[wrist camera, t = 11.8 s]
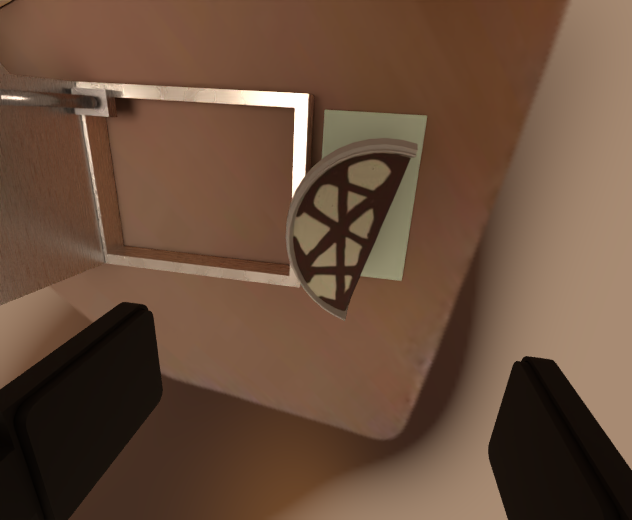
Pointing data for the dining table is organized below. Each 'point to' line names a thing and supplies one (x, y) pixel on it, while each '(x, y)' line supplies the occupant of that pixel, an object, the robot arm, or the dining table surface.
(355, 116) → the mat
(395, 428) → the dining table surface
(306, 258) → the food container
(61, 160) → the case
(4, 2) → the coffeecake box
